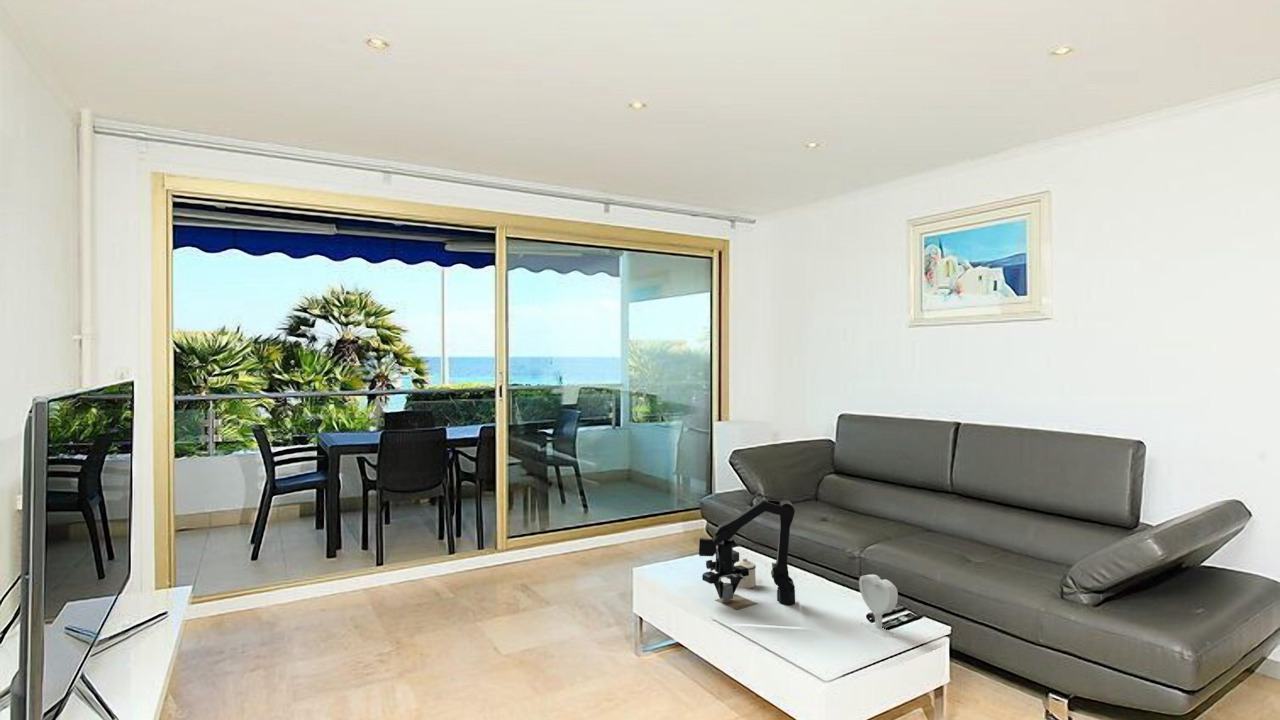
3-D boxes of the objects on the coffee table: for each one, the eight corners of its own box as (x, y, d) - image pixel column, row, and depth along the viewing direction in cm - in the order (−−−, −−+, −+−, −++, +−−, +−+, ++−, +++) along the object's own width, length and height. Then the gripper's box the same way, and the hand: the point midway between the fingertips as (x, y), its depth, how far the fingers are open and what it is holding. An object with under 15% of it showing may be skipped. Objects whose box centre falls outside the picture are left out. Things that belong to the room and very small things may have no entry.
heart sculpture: (858, 622, 244) (857, 572, 244) (869, 620, 246) (868, 570, 246) (888, 639, 230) (887, 586, 229) (900, 636, 231) (899, 584, 231)
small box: (715, 571, 304) (714, 548, 304) (727, 569, 307) (727, 546, 307) (727, 578, 294) (727, 554, 294) (740, 576, 297) (740, 552, 297)
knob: (726, 594, 269) (726, 580, 269) (735, 597, 265) (735, 584, 265) (716, 596, 266) (716, 583, 266) (725, 600, 262) (725, 587, 262)
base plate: (758, 605, 262) (758, 595, 262) (737, 612, 256) (736, 602, 256) (735, 596, 273) (735, 586, 273) (714, 602, 267) (714, 592, 267)
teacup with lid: (747, 581, 291) (747, 553, 290) (760, 587, 282) (760, 559, 282) (724, 585, 285) (723, 558, 285) (736, 592, 277) (735, 564, 277)
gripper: (732, 547, 277) (733, 585, 277) (694, 555, 268) (694, 594, 268) (749, 554, 267) (750, 593, 268) (710, 562, 258) (711, 603, 259)
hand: (726, 596), depth 266 cm, fingers closed on knob, 5 cm apart
